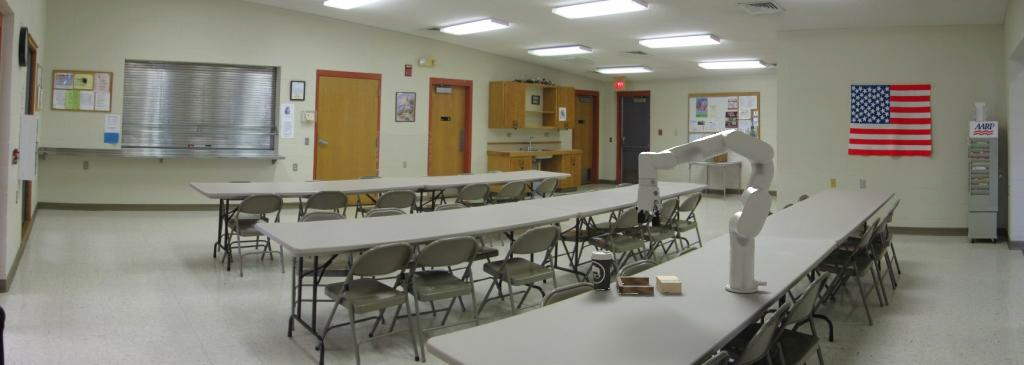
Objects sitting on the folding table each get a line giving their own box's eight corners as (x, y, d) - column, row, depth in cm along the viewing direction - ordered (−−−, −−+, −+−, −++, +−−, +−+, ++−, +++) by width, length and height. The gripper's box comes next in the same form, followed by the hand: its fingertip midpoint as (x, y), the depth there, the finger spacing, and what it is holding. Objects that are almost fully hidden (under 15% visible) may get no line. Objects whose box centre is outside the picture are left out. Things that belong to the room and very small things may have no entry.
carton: (675, 286, 274) (675, 275, 274) (681, 293, 262) (681, 282, 262) (656, 286, 274) (656, 275, 274) (661, 293, 262) (661, 282, 262)
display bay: (648, 283, 278) (648, 276, 278) (653, 294, 260) (653, 286, 260) (616, 283, 279) (616, 276, 279) (619, 294, 261) (619, 286, 261)
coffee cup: (613, 291, 265) (613, 254, 264) (589, 290, 267) (589, 254, 266) (614, 286, 274) (614, 250, 273) (591, 285, 276) (591, 250, 275)
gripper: (669, 183, 259) (669, 226, 261) (643, 180, 275) (643, 221, 276) (653, 184, 256) (653, 228, 257) (628, 181, 272) (628, 222, 273)
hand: (648, 224), depth 267 cm, fingers open, 9 cm apart
